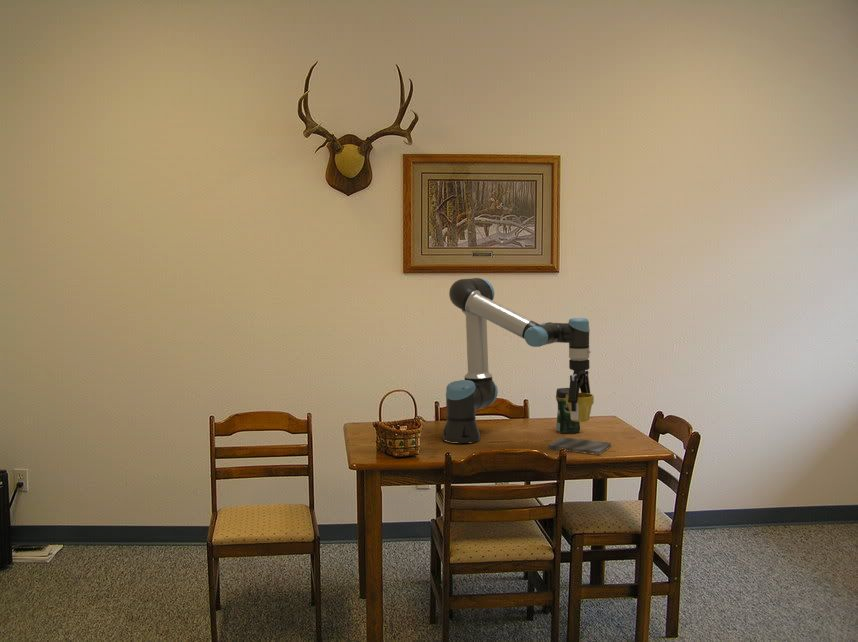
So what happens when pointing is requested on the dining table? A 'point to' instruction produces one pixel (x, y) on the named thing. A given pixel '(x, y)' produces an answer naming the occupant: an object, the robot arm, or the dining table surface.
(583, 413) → the plant pot
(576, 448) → the trivet board
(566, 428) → the coffee jar
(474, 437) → the robot arm
